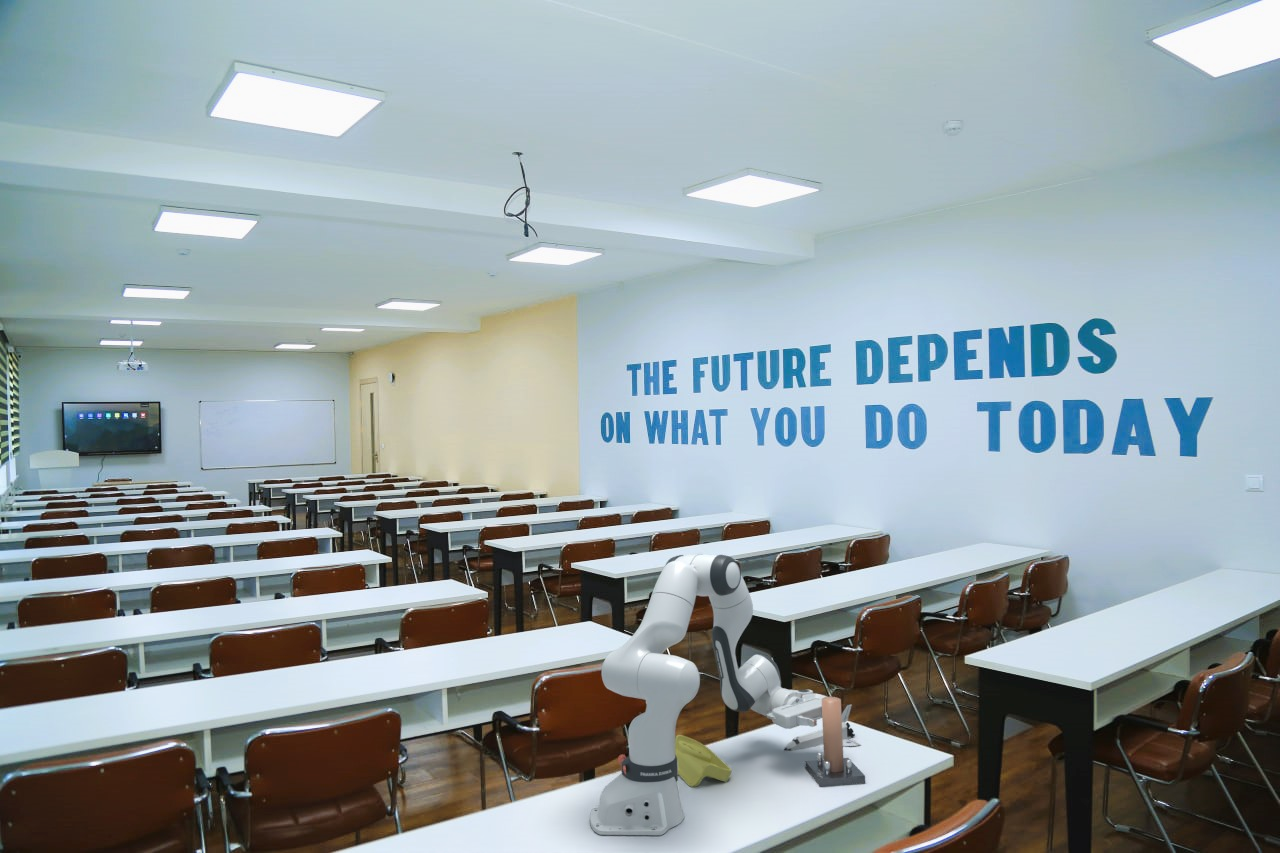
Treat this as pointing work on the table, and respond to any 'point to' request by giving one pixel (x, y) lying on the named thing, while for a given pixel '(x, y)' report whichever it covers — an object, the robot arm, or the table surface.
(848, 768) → the plate
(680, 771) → the plastic component
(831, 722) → the canister
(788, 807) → the table surface
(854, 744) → the space shuttle model
